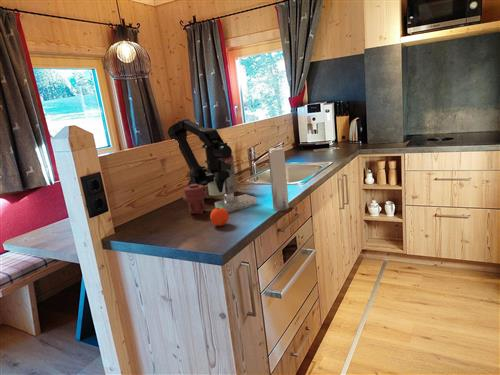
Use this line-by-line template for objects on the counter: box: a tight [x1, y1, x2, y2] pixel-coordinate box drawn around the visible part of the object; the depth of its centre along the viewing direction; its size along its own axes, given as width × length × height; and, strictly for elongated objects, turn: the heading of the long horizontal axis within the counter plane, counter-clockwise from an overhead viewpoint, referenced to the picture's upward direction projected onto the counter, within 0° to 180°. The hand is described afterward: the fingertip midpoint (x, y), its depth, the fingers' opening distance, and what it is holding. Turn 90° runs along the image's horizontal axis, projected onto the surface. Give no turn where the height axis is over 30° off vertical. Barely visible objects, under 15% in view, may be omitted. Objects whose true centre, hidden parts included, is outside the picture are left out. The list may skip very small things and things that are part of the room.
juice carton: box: [219, 153, 238, 194], centre depth 181 cm, size 7×7×22 cm
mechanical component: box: [182, 184, 208, 215], centre depth 154 cm, size 12×10×10 cm
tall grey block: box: [267, 147, 290, 212], centre depth 146 cm, size 6×6×25 cm
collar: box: [207, 181, 225, 196], centre depth 166 cm, size 8×8×5 cm
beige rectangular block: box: [214, 192, 258, 213], centre depth 157 cm, size 9×16×6 cm, turn 123°
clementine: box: [209, 207, 229, 227], centre depth 136 cm, size 8×7×7 cm
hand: (217, 191), depth 166 cm, fingers closed on collar, 8 cm apart
